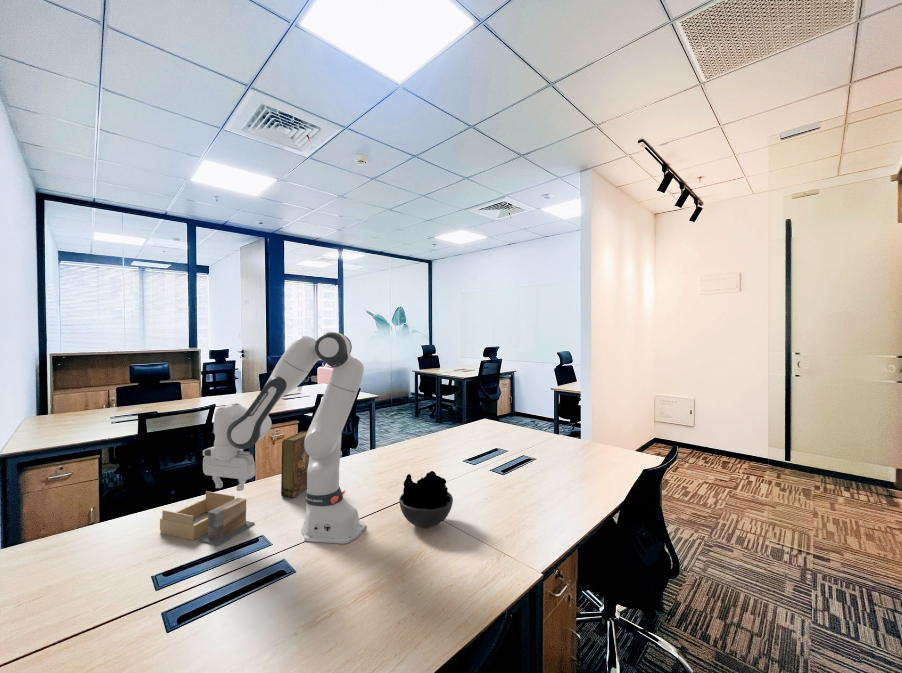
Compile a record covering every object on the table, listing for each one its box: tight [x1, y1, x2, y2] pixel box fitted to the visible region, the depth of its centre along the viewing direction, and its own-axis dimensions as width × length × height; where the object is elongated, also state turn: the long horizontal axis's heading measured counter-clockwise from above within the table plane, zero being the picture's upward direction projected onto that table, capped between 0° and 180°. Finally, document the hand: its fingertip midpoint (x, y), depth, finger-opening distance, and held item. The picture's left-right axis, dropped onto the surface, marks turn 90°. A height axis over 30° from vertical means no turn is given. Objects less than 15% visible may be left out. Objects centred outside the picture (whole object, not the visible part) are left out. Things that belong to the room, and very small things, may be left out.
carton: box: [159, 490, 236, 541], centre depth 136 cm, size 16×17×8 cm
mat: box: [197, 520, 255, 547], centre depth 131 cm, size 9×15×1 cm, turn 164°
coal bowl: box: [398, 470, 454, 529], centre depth 139 cm, size 20×20×19 cm
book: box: [280, 430, 309, 499], centre depth 167 cm, size 16×6×25 cm, turn 168°
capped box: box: [207, 497, 247, 540], centre depth 131 cm, size 4×12×9 cm, turn 163°
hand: (229, 488), depth 131 cm, fingers open, 8 cm apart
